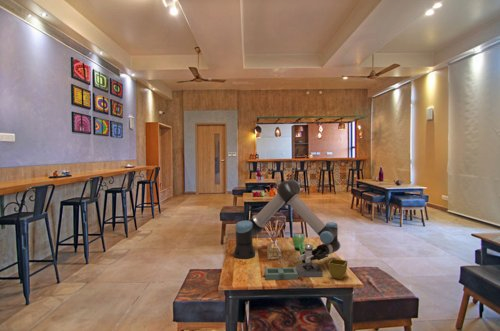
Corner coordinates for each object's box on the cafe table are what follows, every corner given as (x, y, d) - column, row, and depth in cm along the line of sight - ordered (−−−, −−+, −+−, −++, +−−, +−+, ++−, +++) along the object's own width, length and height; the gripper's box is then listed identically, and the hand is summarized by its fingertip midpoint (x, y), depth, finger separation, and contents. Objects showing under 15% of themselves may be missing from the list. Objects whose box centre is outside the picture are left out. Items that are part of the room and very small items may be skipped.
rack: (264, 273, 178) (264, 268, 178) (294, 272, 178) (294, 267, 178) (265, 279, 168) (265, 274, 168) (297, 279, 168) (297, 273, 168)
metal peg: (304, 270, 179) (304, 244, 179) (311, 270, 179) (311, 244, 179) (305, 273, 175) (305, 246, 175) (312, 273, 175) (312, 246, 175)
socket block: (295, 268, 184) (295, 264, 184) (316, 268, 184) (316, 263, 184) (299, 277, 171) (299, 272, 171) (322, 276, 171) (322, 271, 171)
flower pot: (332, 273, 176) (332, 258, 175) (347, 276, 171) (347, 260, 171) (328, 278, 168) (328, 262, 168) (344, 281, 164) (343, 265, 163)
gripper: (336, 258, 184) (316, 269, 167) (312, 252, 196) (291, 262, 179) (336, 246, 184) (316, 256, 167) (312, 241, 196) (291, 249, 179)
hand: (303, 259), depth 173 cm, fingers closed on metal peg, 4 cm apart
